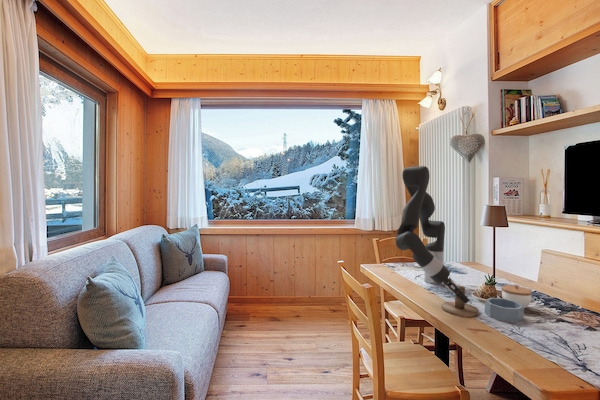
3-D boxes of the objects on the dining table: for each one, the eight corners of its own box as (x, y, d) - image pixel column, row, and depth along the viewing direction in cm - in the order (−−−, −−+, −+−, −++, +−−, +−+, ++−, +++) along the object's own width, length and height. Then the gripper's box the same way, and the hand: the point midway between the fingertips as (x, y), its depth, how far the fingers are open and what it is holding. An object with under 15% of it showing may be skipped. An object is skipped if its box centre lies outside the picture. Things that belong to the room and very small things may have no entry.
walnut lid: (451, 301, 140) (451, 279, 140) (485, 311, 129) (485, 287, 129) (434, 309, 132) (435, 285, 131) (469, 320, 121) (469, 294, 120)
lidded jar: (526, 304, 138) (526, 283, 138) (535, 313, 128) (536, 290, 128) (498, 301, 142) (498, 280, 141) (505, 309, 131) (505, 287, 131)
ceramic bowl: (493, 307, 133) (494, 296, 133) (526, 317, 124) (527, 304, 124) (480, 313, 126) (481, 301, 126) (514, 324, 117) (515, 311, 117)
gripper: (447, 267, 124) (478, 299, 122) (437, 259, 138) (465, 287, 136) (432, 280, 125) (463, 311, 123) (424, 270, 139) (451, 298, 137)
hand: (464, 298), depth 130 cm, fingers open, 6 cm apart
